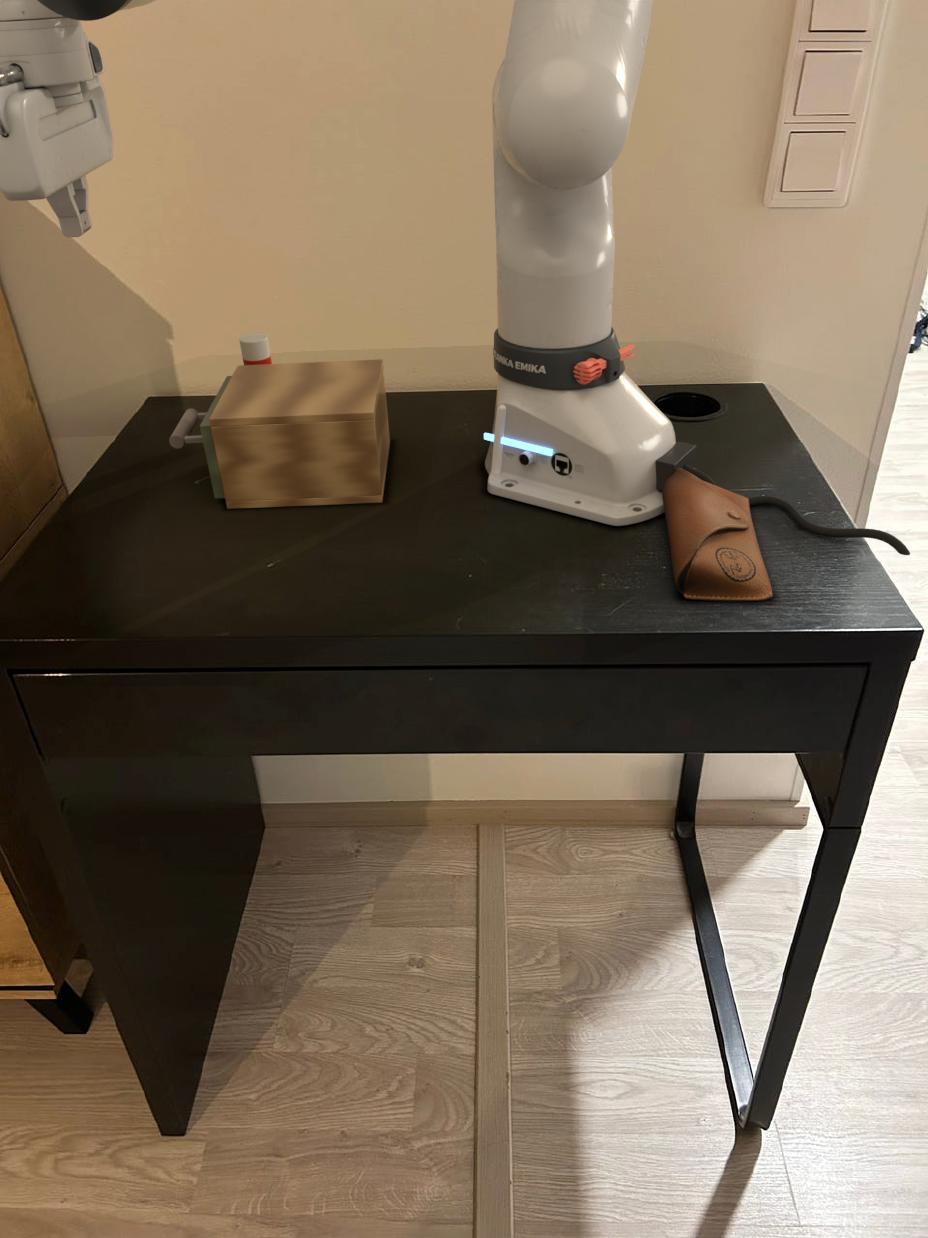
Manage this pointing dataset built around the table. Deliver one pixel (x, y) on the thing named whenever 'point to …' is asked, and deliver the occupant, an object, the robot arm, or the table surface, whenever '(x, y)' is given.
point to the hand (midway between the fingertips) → (78, 233)
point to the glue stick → (255, 349)
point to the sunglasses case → (712, 542)
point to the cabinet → (303, 434)
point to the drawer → (201, 438)
